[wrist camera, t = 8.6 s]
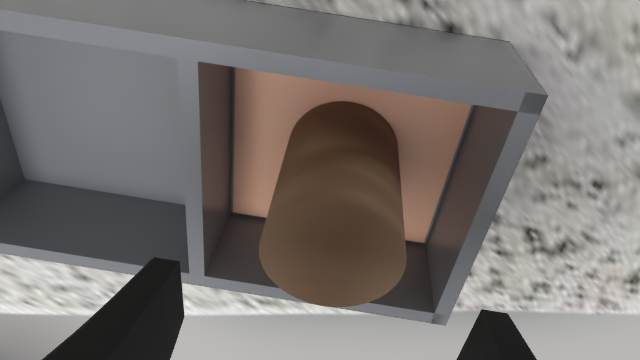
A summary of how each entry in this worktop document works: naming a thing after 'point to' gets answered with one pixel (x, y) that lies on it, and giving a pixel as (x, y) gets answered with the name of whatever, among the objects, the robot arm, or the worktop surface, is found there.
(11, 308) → the worktop surface
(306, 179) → the walnut cylinder
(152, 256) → the organiser
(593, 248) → the worktop surface
